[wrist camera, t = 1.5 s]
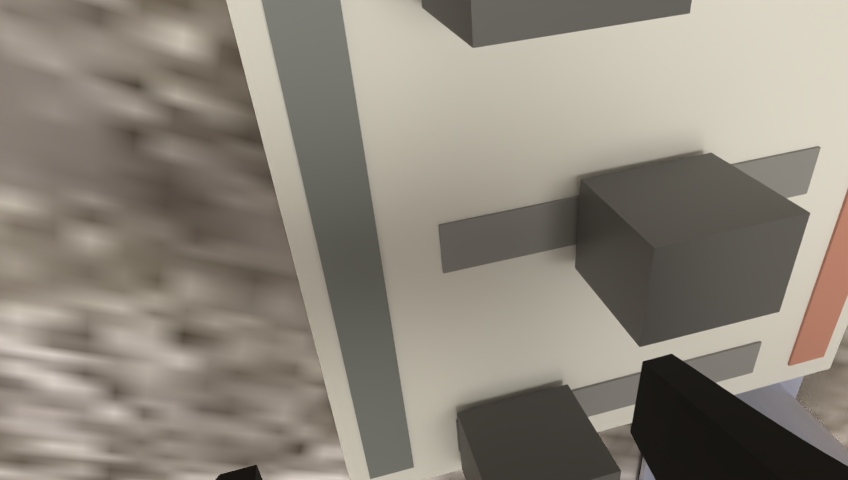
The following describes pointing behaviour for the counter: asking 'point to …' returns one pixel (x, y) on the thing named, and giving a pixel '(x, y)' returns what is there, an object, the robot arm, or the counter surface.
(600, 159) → the breaker panel
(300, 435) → the counter surface
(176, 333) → the counter surface
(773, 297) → the block
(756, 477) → the robot arm
